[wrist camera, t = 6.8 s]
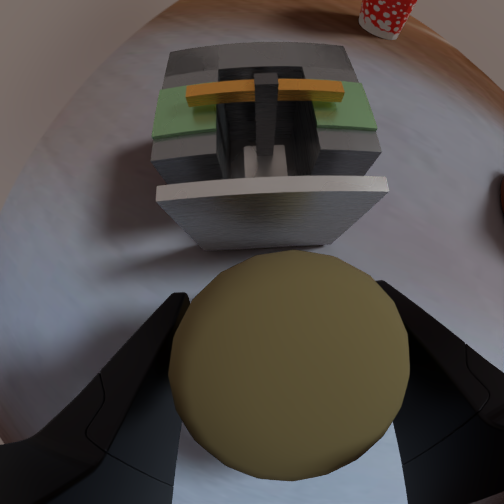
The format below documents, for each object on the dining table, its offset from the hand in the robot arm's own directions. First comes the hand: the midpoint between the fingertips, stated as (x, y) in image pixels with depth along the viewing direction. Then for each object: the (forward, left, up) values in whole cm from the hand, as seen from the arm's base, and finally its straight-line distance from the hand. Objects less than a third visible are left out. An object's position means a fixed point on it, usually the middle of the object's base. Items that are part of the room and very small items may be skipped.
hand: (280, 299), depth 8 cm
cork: (-1, -1, -7) cm, 8 cm away
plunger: (+3, +4, -7) cm, 9 cm away
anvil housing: (+5, +6, -7) cm, 10 cm away
